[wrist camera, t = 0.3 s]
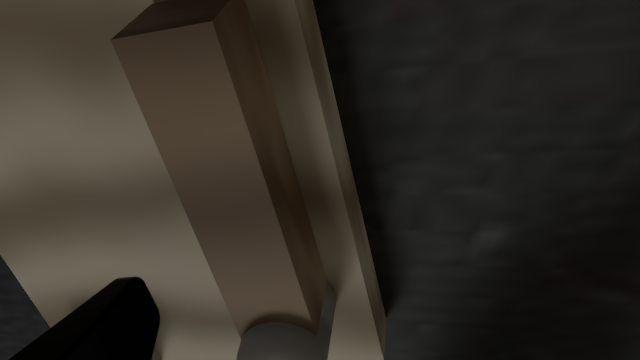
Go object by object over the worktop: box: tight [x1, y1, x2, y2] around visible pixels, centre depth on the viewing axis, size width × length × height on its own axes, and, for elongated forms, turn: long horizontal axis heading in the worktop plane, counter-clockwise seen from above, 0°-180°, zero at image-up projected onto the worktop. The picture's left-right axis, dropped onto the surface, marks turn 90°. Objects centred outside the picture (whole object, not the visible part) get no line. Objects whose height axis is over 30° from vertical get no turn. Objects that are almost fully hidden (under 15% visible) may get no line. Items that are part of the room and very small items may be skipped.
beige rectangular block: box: [0, 0, 386, 360], centre depth 23 cm, size 19×16×6 cm
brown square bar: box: [111, 0, 336, 360], centre depth 20 cm, size 15×3×4 cm, turn 13°
